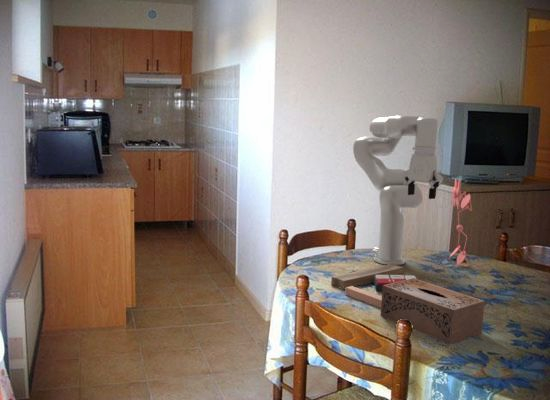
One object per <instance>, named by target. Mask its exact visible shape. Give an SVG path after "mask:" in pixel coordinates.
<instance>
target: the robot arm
mask: <svg viewBox="0 0 550 400" xmlns="http://www.w3.org/2000/svg"><path fill="white" fill-rule="evenodd" d="M369 132H370V133H371V136H362V137H359V138H357V139H356V140H355V141H354V143H353V147H352V148H353V149H352V151H353V152H352V153H353V156H354V159H355V161H356V162H357V165H358V166H359V168H361V169H362V171H364V173H365V174H366V175H367V178H368V179H369V180H370V182H371V184H372V185H373V187H374V188H375V190H377V191H378V192H379V205H380V207H379V208H380V221H379V222H380V223H379V237H378V247H374V248H373V249H372V250H371V252H372V253H374V254H376V255H375V256H374V258H373V261H374V262H375V263H377V264H381V265H386V264H387V265H388V264H393V265H397V266H401V265H404V264H405V263H406V259H405V258H403V257H402V255H403V254H402V253H403V245H404V244H403V243H404V231H405V230H404V228H405V219H404V216H403V214H402V212H401V211H400V210H402V209H416V208H418V207H420V206H421V204H422V202H423V192H422V190H421V188H420V186H419V185H418V184H417V183H416V182H420V183H425V184H426V183H428V184H429V186H430V188H429V189H428V199H429V200H432V199H433V200H435V199H436V196H437V189H438V187H440V186H441V184H442V182H443V180H444V177H443V176H442V175H441V174H440V173H438V159H437V155H436V148H437V137H438V119H437V118H435V117H426V116H422V115H420V116H419V115H395V116H394V115H393V116H384V117H383V116H382V117H377V118H375V119H373V120H372V121H371V122H370V125H369ZM372 135H373V136H372ZM402 137H415V138H414V139H415V140H414V141H415V143H414V147H412V151H414V153H412V155H411V157H410V163H409V166H408V169H407V170H404V169H401V168H400V169H399V168H398V169H397V168H396V169H395V168H393V169H391V168H388V167H387V166H386V165H385V163H384V162H383V161H382V160H381V159H379V158H378V157H388V156H391V154H392V153H393V152H394V151H395V149H396V148H397V146H398V144H399V142H400V141H401V140H402Z"/></svg>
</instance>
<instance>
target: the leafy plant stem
mask: <svg viewBox="0 0 550 400" xmlns="http://www.w3.org/2000/svg"><path fill="white" fill-rule="evenodd" d="M461 189H462V184H461V180H460V179H459V180H458V179H457V178H455V180H454V186H453V187H452V190H451V192H452V197H453V200H452V202H451V203H452V204H453V207H454V208H455V207H456V209H457V210H458V212H457V220H458V221H457V222H458V223H457V224H458V225H456V230H457V231H458V240H457V241H458V242H457V247H456V248H455V249H454V250H453V252H452V253H450V255H449V257H448V258H449V259H450V258H452V257H454V256H455V254H456V253H457V252H458V251H459V254H458V256H457V258H456V266H459V265H461V264H462V263H463V262H464V260H465V262H466V263H467V265H468V267H469V266H470V263H469V261H468V258H467V257H466V256H467V252H466V250H465V249H466V245H467V241H468V236H467V234H465V233H464V232H463V230H464V226H463V225H462V224H460V213H461V212H463V211H465V210H467V209H468V210H469V211H470V212H471V213H472V212H473V206H472V200H471V194H470V193H468V194H467V192H466V191H463V192H462V190H461ZM460 201H461V202H460ZM468 204H469V205H468ZM460 208H461V210H459V209H460ZM461 233H462V234H463V235H464V236H465V237H466V239H465V242H464V243H465V244H464V247H463V250H461V249H460V248H461V245H460V244H459V243H460V236H461V235H460V234H461ZM433 263H434V264H436V262H435V261H433ZM437 265H438V266H441V267H442V265H441V264H438V263H437ZM443 267H444V268H446V266H444V265H443ZM447 268H449V267H448V266H447Z"/></svg>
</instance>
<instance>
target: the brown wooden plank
mask: <svg viewBox="0 0 550 400" xmlns="http://www.w3.org/2000/svg"><path fill="white" fill-rule="evenodd" d="M375 275H389V276H390V275H403V276H404V267H402V266H401V265H393V264H388V265H386V264H383V265H380V266H379V265H378V266H373V267H371V268H366V269H361V270H357V271H352V272H347V273H343V274H338V275H333V276H331V284H330V285H331V286H333V285H335V286H334V287H336V286H337V287H336V288H339V287H340V288H339V289H341V288H342V289H341V290H346V289H345V288H346V287H350V286H355V287H358V285H359V286H362V285H367V283H368V284H371V282H372V283H374V276H375Z"/></svg>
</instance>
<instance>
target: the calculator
mask: <svg viewBox="0 0 550 400" xmlns="http://www.w3.org/2000/svg"><path fill="white" fill-rule="evenodd" d="M412 278H415V279H418V278H417V275H404V274H403V275H390V276H389V275H375V276H374V282H373V285H374V288H375V292H376V293H382V288H383V285H386V284H391V283H395V282H399V281H403V280H408V279H412Z"/></svg>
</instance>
